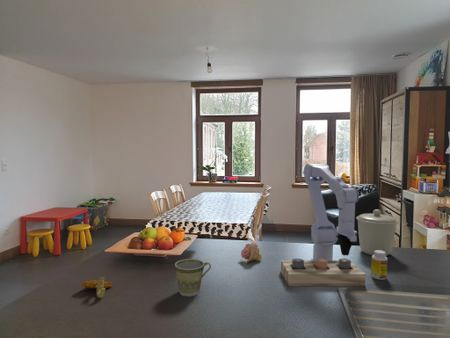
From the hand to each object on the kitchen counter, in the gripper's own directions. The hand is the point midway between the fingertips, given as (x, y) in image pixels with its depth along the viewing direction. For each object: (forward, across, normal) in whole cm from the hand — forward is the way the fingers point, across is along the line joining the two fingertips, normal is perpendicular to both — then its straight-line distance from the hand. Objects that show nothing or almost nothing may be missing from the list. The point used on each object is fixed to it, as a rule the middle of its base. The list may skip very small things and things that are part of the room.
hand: (345, 254), depth 125 cm
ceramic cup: (+10, -11, +57) cm, 59 cm away
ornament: (+10, -11, +90) cm, 91 cm away
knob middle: (+6, 0, +9) cm, 11 cm away
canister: (+9, +30, -27) cm, 41 cm away
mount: (+9, 0, +9) cm, 13 cm away
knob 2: (+6, 0, 0) cm, 6 cm away
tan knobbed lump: (+10, +19, +34) cm, 40 cm away
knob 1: (+6, 0, +18) cm, 19 cm away
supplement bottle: (+10, +1, -14) cm, 17 cm away
